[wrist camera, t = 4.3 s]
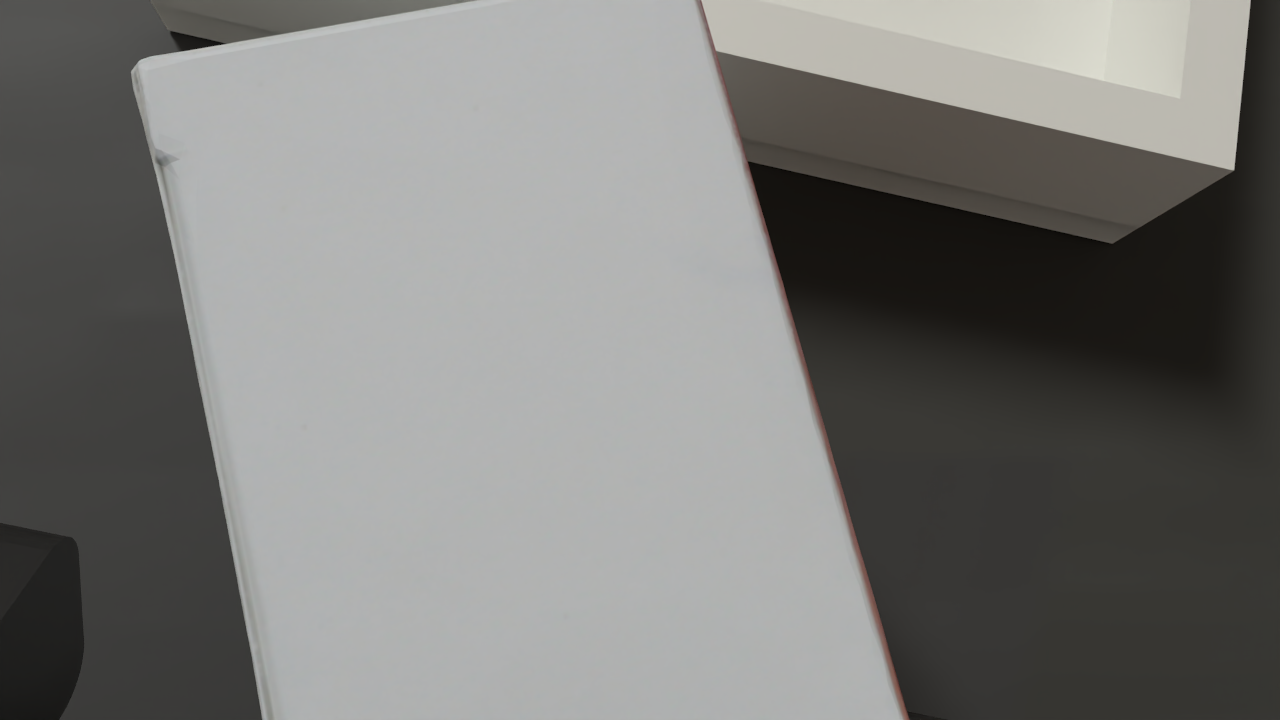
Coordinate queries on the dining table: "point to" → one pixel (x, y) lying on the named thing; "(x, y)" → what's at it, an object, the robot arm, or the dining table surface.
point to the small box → (507, 374)
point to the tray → (943, 94)
